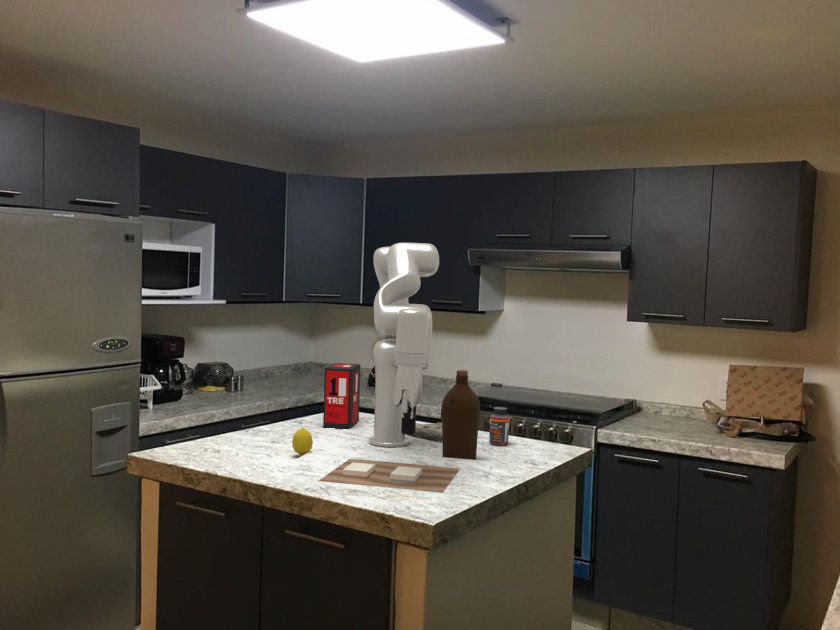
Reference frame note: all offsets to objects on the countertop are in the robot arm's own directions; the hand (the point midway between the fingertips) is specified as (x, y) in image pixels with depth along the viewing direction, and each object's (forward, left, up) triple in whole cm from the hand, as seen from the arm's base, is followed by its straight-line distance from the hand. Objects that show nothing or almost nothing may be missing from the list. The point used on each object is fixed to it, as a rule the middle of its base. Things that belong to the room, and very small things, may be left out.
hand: (408, 433), depth 188 cm
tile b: (-2, 0, -10) cm, 10 cm away
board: (0, -4, -12) cm, 13 cm away
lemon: (-16, -34, -12) cm, 39 cm away
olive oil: (-28, +8, -12) cm, 32 cm away
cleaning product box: (-65, -39, -12) cm, 77 cm away
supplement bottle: (-53, +16, -12) cm, 57 cm away
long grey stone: (-59, -9, -13) cm, 61 cm away
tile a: (-2, -12, -10) cm, 15 cm away
